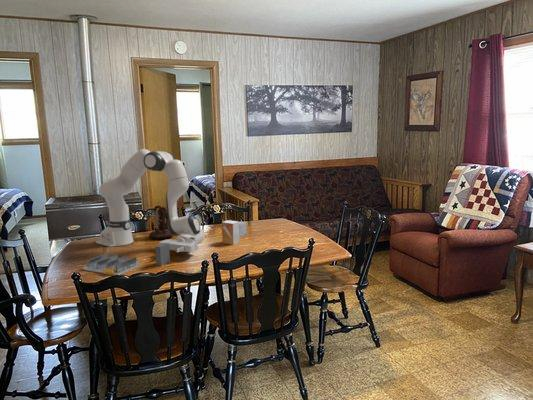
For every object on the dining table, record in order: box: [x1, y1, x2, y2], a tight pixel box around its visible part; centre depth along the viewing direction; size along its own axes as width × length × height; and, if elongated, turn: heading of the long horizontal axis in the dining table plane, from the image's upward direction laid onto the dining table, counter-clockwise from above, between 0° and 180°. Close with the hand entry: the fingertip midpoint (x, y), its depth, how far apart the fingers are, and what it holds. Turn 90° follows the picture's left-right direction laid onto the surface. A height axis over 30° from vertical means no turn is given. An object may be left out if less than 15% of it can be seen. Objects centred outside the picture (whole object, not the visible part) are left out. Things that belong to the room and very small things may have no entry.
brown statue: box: [148, 205, 173, 241], centre depth 249 cm, size 15×15×20 cm
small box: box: [221, 219, 240, 246], centre depth 236 cm, size 8×6×13 cm
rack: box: [82, 252, 142, 276], centre depth 196 cm, size 22×17×4 cm
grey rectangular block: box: [154, 243, 171, 267], centre depth 200 cm, size 3×7×10 cm, turn 157°
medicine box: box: [238, 220, 247, 238], centre depth 252 cm, size 8×4×9 cm, turn 141°
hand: (168, 249), depth 205 cm, fingers open, 8 cm apart
